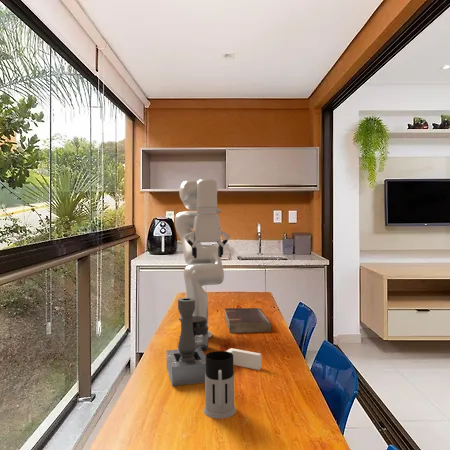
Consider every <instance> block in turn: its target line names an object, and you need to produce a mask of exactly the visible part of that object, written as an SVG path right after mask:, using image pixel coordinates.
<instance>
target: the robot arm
mask: <svg viewBox="0 0 450 450" xmlns="http://www.w3.org/2000/svg"><path fill="white" fill-rule="evenodd" d="M178 194H179V198H180V200H181V202H182V203H183V206H184V207H185V208H186V209H187V210H184V211H180V212H178V213H177V214H176V215H175V218H174V224H175V226H174V227H175V231H176V233H177V235H178V237H179V239H180V241H181V245H182V250H183V257H184V261H185V263H186V264H187V266H185V267H184V270H183V279H184V284H185V298H194V299H195V310H194V313H193V315H192V316H202V317H205V318H207V324H206V325H207V326H208V327H209V296H208V292H206V291H205V289H204V288H203V286H213V285H214V286H215V285H220V284H223V282H224V280H225V272H224V271H225V270H224V267H223V263H222V257H223V255H224V246H225V245H226V244H227V243H228V241H229V239H230V238H231V235H230V234H228V233H226V232H225V231H223V230H222V228H221V221H220V216H219V215H218V214H219V213H222V209H221V208H218V183H217V181H216V179H212V178H211V179H210V178H205V179H204V178H203V179H202V178H201V179H199V180H197V179H196V180H195V179H194V180H192V179H191V180H184V181H183V182H181V184H180V187H179V193H178ZM192 229H193V230H192ZM222 236H224V238H223V240H222ZM201 243H217V244H218V247H217V246H216V245H215V244H201ZM212 336H213V333H212V331H210V330H208V339H210V338H211V337H212Z"/></svg>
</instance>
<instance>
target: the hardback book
mask: <svg viewBox="0 0 450 450" xmlns="http://www.w3.org/2000/svg"><path fill="white" fill-rule="evenodd" d="M224 319H225V322H226V324H227V325H226V326H227V329H228V328H229V329H228V332H229V334H237V333H238V334H241V333H242V334H243V333H244V334H245V332H246V333H270V332H272V323H271V321H270V320H269V318H268V317H267V316H266V314H265V313H264V312H263V310H262V308H259V307H254V308H253V307H252V308H251V307H247V308H246V307H245V308H241V307H239V308H238V307H236V308H234V307H233V308H231V307H230V308H226V307H225V308H224Z"/></svg>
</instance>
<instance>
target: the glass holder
mask: <svg viewBox="0 0 450 450" xmlns="http://www.w3.org/2000/svg"><path fill="white" fill-rule="evenodd" d="M226 351H227V350H216V351H215V350H214V351H210V352H208V353H206V354H205V357H206V371H205V383H204V393H205V394H204V395H205V396H204V397H205V398H204V399H205V400H204V401H205V402H204V403H205V404H204V409H203V413H204V415H205V416H207V417H208V418H212V419H217V420H221V419H227V418H231V417H233V416H234V415H235V414H236V413H237V409H236V406H235V370H234V365H233V354H232V353H230V352H226Z"/></svg>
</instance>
